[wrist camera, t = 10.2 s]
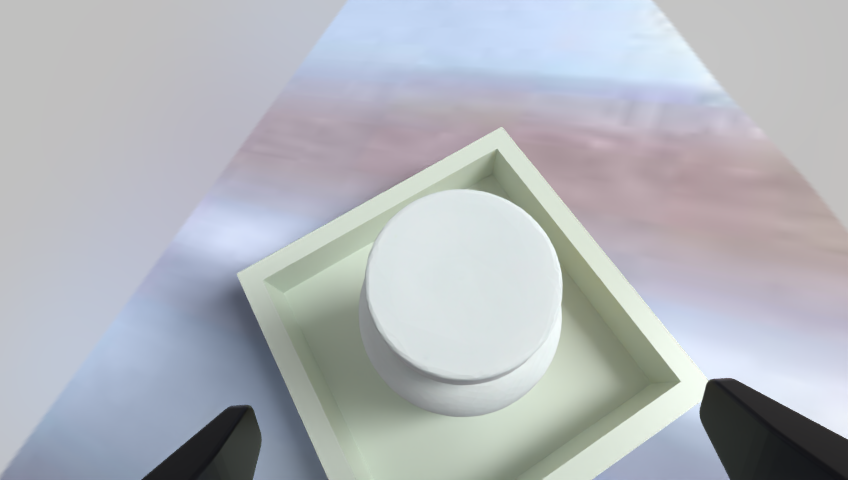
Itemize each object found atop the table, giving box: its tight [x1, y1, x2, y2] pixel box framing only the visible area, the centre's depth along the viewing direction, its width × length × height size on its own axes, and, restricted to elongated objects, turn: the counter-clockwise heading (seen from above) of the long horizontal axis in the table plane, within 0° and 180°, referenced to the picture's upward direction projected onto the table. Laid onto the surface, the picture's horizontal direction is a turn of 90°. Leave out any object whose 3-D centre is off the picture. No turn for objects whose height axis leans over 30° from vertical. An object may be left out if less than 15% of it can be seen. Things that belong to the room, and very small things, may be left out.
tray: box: [237, 127, 709, 480], centre depth 17 cm, size 13×13×3 cm
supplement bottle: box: [359, 189, 562, 417], centre depth 13 cm, size 5×5×10 cm
